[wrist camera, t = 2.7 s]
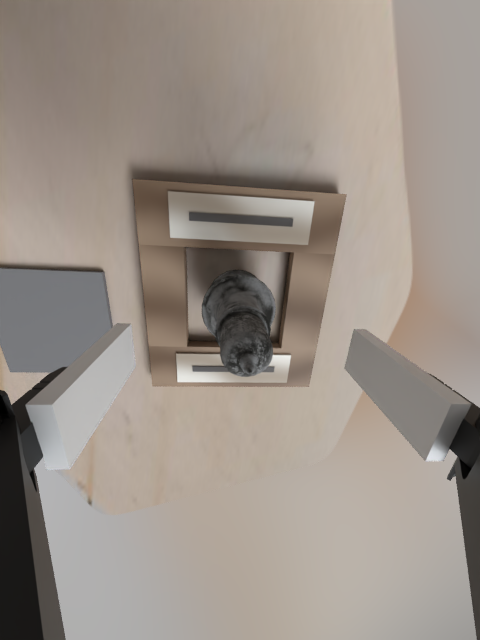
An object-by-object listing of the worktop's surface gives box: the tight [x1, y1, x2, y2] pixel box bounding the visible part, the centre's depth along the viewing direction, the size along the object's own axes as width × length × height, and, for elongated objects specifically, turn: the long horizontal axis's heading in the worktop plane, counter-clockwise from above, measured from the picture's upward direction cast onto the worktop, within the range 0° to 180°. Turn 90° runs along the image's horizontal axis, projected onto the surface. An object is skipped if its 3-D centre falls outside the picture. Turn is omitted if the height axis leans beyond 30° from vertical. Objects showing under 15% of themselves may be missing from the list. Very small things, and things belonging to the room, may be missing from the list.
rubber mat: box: [0, 268, 113, 372], centre depth 22 cm, size 10×10×1 cm
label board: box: [132, 179, 347, 387], centre depth 21 cm, size 18×16×2 cm
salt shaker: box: [202, 270, 276, 377], centre depth 17 cm, size 6×6×12 cm
